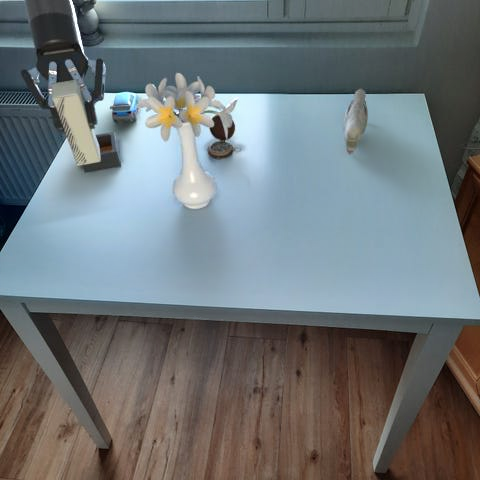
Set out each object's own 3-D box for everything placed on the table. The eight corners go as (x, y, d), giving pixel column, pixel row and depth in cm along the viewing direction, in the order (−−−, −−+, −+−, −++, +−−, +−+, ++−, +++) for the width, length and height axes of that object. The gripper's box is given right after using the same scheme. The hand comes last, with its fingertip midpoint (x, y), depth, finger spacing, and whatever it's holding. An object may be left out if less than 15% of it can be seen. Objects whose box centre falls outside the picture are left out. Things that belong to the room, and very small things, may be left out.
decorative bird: (337, 154, 109) (342, 124, 103) (345, 117, 118) (349, 87, 113) (361, 156, 108) (367, 126, 102) (367, 119, 118) (372, 89, 112)
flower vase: (242, 216, 97) (237, 99, 78) (154, 221, 98) (126, 105, 78) (241, 178, 105) (235, 62, 85) (159, 182, 106) (135, 68, 86)
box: (76, 151, 88) (50, 82, 77) (100, 146, 88) (77, 77, 78) (77, 167, 84) (50, 98, 74) (101, 163, 85) (78, 93, 74)
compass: (205, 159, 110) (201, 130, 104) (211, 140, 115) (209, 111, 109) (239, 161, 109) (237, 132, 103) (244, 142, 114) (242, 113, 108)
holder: (84, 173, 109) (79, 157, 106) (83, 152, 114) (78, 137, 111) (121, 166, 110) (116, 151, 107) (118, 146, 115) (114, 131, 112)
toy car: (140, 102, 127) (136, 81, 123) (136, 126, 120) (131, 105, 116) (119, 103, 127) (113, 82, 123) (113, 128, 120) (107, 106, 116)
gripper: (0, 17, 73) (28, 131, 75) (92, 4, 74) (116, 116, 77) (16, 39, 80) (41, 142, 83) (100, 27, 82) (122, 129, 84)
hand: (77, 129), depth 80 cm, fingers closed on box, 4 cm apart
